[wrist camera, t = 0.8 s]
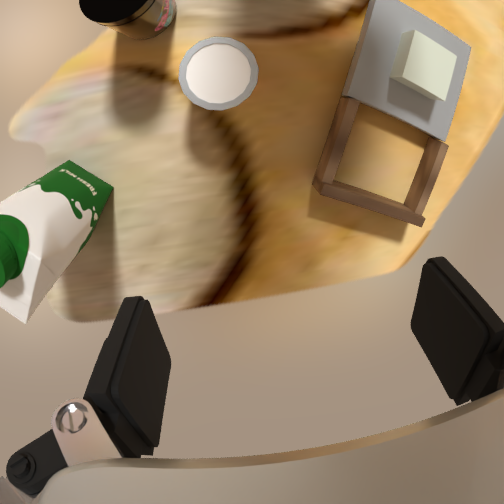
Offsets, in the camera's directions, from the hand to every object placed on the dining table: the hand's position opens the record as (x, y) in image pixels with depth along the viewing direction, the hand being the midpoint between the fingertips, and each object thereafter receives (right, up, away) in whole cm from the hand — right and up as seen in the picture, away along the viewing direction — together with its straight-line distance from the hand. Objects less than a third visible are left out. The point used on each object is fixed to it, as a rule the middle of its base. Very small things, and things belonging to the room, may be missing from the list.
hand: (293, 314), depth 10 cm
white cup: (-5, +20, +20) cm, 29 cm away
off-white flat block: (+17, +23, +17) cm, 33 cm away
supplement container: (-13, +28, +16) cm, 34 cm away
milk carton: (-23, +9, +25) cm, 35 cm away
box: (+14, +13, +25) cm, 31 cm away
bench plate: (+17, +24, +19) cm, 35 cm away
